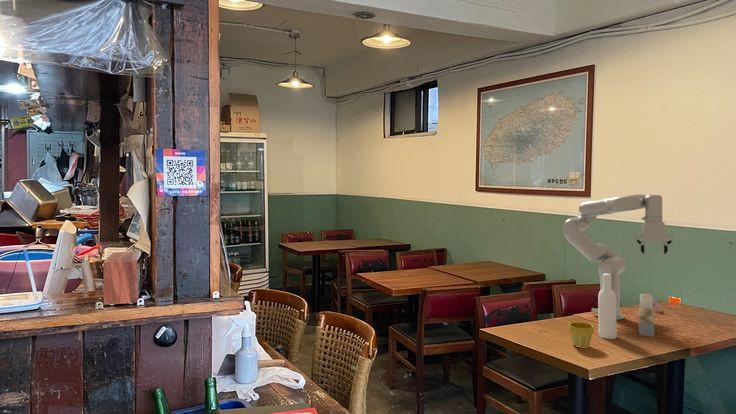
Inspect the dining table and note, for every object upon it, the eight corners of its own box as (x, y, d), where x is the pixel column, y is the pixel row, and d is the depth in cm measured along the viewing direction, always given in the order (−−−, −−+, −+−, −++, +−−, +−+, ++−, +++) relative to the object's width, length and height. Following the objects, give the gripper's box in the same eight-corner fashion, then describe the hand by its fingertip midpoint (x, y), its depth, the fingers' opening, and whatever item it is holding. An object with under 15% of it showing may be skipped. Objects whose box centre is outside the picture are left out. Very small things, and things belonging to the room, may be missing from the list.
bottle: (609, 340, 235) (608, 276, 233) (594, 336, 242) (593, 273, 240) (620, 337, 239) (619, 274, 237) (605, 333, 246) (605, 271, 244)
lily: (652, 316, 274) (662, 302, 271) (633, 304, 283) (643, 290, 281) (662, 319, 280) (672, 305, 278) (644, 307, 290) (653, 293, 287)
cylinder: (640, 310, 241) (640, 295, 240) (639, 307, 245) (639, 293, 245) (653, 311, 238) (653, 296, 238) (652, 308, 243) (651, 293, 243)
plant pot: (599, 348, 225) (598, 326, 225) (579, 351, 222) (579, 329, 222) (583, 341, 235) (582, 320, 235) (564, 344, 232) (563, 323, 232)
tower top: (639, 322, 241) (639, 310, 240) (638, 319, 246) (638, 307, 246) (654, 323, 238) (654, 311, 238) (652, 320, 244) (652, 308, 243)
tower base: (639, 335, 241) (639, 322, 241) (638, 331, 246) (638, 319, 246) (654, 336, 238) (654, 323, 238) (653, 332, 244) (652, 320, 244)
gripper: (634, 220, 254) (635, 254, 255) (674, 220, 247) (675, 254, 248) (633, 218, 261) (634, 251, 262) (672, 218, 254) (672, 252, 255)
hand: (654, 253), depth 255 cm, fingers open, 9 cm apart
